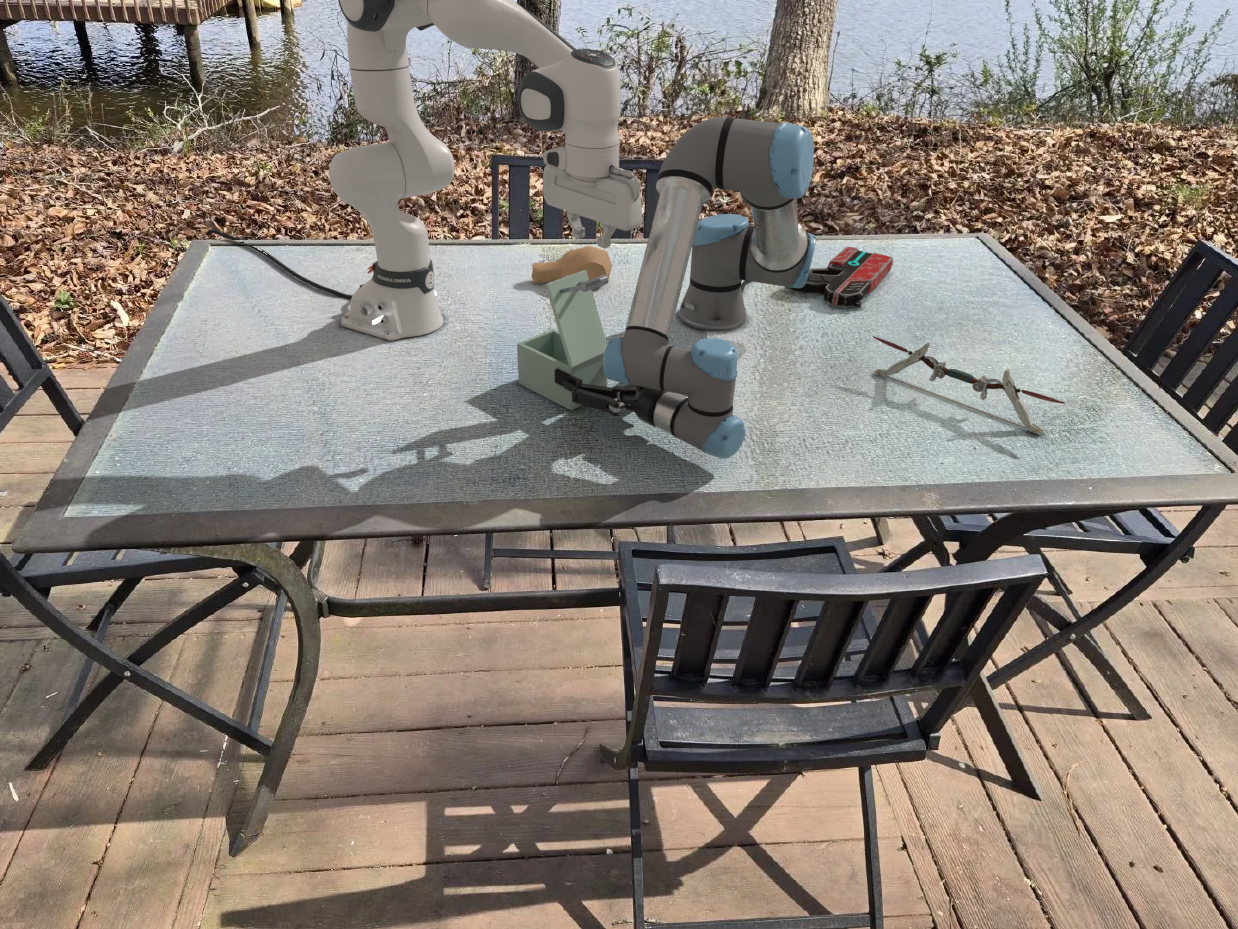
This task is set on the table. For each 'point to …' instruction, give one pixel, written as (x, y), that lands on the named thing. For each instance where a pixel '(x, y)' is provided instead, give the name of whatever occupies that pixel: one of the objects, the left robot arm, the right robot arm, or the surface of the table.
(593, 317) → the lid
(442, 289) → the table surface
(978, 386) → the bow
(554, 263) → the squash
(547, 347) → the chest
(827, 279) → the gun
